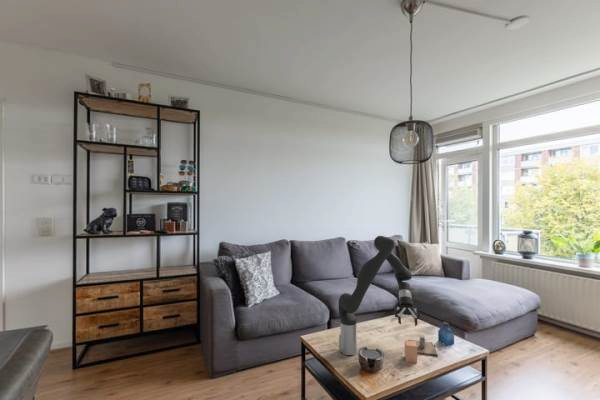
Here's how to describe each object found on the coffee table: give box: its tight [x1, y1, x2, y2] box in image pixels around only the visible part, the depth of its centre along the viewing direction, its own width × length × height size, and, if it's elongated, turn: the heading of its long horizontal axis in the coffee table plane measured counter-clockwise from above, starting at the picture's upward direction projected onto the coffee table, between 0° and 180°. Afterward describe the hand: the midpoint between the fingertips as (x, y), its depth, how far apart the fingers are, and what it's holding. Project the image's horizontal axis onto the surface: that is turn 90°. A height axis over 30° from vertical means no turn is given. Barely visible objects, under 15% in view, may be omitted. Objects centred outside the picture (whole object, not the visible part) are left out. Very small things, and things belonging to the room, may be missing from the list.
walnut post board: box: [407, 335, 439, 357], centre depth 166 cm, size 14×14×7 cm
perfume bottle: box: [437, 321, 455, 346], centre depth 173 cm, size 6×6×12 cm
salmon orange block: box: [404, 339, 418, 364], centre depth 155 cm, size 6×6×9 cm
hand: (408, 324), depth 164 cm, fingers open, 8 cm apart
